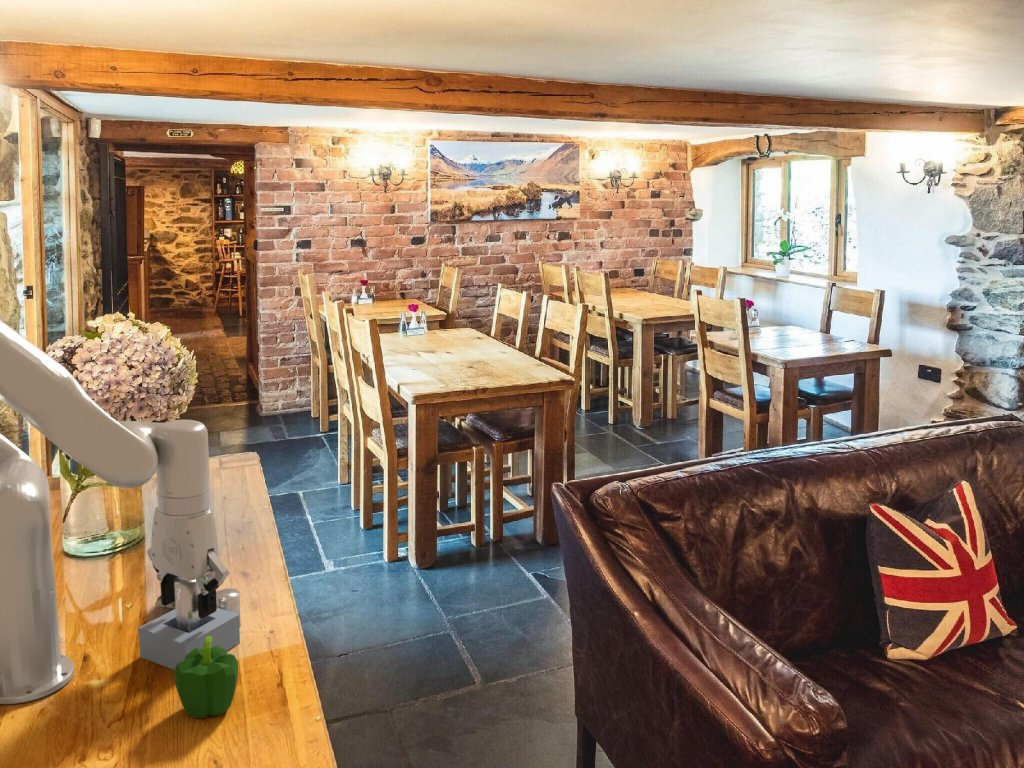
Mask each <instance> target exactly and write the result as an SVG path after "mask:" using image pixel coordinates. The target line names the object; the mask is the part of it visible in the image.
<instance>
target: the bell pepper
mask: <svg viewBox="0 0 1024 768" xmlns="http://www.w3.org/2000/svg"><path fill="white" fill-rule="evenodd" d="M211 642H212V637H211V636H207V637H206V638H205V641H204V648H203V649H202V648H194V649H193V650H192V651H191V652H189V653H188V654H187V655H186V657H185V660H184V661H181V662H179V663H177V666H176V668H175V670H173V672H174V685H175V688H176V691H177V694H178V697H179V700H180V702H181V705H182V707H183V709H184V712H185V713H186V714H187V715H189V716H190V717H192V718H195V719H203V718H206V717H207V716H209V715H210V716H219V715H222V714H224V713H225V712H226V711H228V710H229V708H230V707H231V705H232V702H233V700H234V696H235V692H236V688H237V684H238V677H239V661H238V660H237V658H236V656H235V655H234V654H233V653H228V652H227V651H226V650H224V649H223V648H221V647H220V646H219V645H217V646H214V647H211Z"/></svg>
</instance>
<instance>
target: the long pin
mask: <svg viewBox="0 0 1024 768" xmlns="http://www.w3.org/2000/svg"><path fill="white" fill-rule="evenodd" d="M174 588H175V611H176V629H178V630H181V631H184V632H187V633H190V632H192V631H194V630H196V629H197V628H199V627H201V626H203V619H202V618H199V616H198V594H200V593H201V592H200V590H199V587H198V585H197V582H196V580H188V579H185V578H182V577H177V578H176V579H175V580H174Z"/></svg>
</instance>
